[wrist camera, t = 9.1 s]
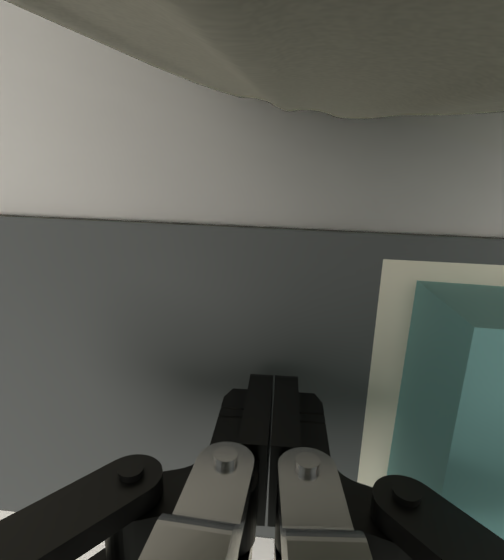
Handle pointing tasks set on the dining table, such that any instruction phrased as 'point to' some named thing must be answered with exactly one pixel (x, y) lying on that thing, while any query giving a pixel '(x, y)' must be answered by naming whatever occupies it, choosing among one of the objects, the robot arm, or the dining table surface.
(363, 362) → the mat
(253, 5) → the canister
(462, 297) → the t block
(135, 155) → the dining table surface
